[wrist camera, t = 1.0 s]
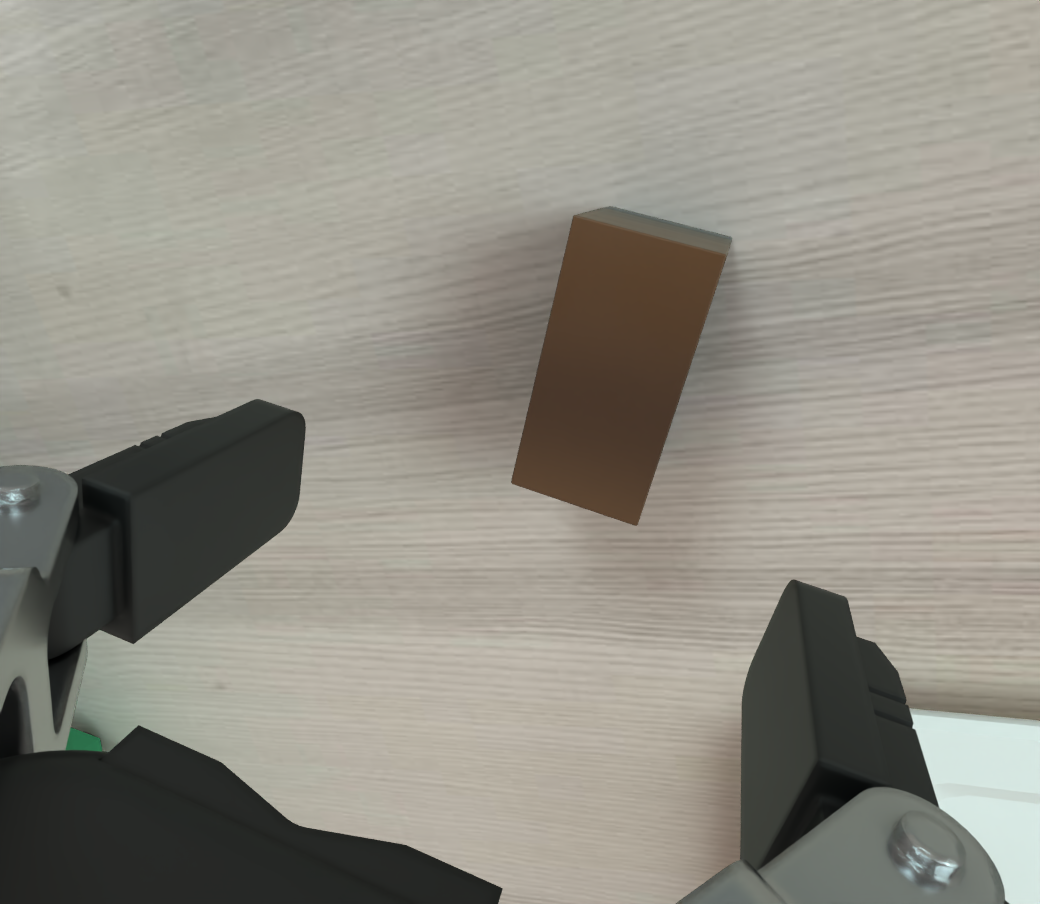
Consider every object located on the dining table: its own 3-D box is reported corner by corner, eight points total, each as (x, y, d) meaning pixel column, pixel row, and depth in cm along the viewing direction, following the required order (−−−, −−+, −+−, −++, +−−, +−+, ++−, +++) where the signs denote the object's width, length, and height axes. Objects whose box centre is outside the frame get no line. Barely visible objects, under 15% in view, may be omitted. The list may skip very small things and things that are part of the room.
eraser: (608, 205, 23) (573, 214, 18) (732, 237, 22) (727, 254, 17) (551, 429, 26) (510, 483, 21) (657, 463, 25) (636, 526, 21)
